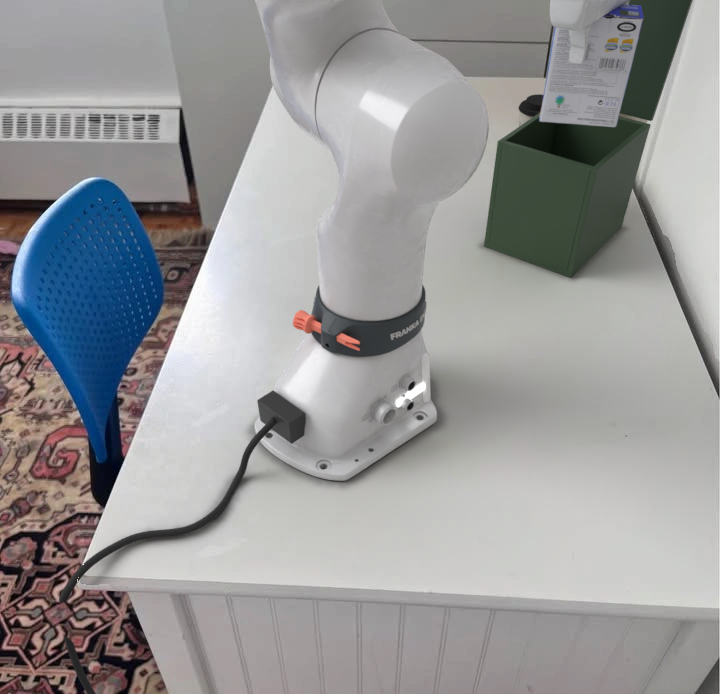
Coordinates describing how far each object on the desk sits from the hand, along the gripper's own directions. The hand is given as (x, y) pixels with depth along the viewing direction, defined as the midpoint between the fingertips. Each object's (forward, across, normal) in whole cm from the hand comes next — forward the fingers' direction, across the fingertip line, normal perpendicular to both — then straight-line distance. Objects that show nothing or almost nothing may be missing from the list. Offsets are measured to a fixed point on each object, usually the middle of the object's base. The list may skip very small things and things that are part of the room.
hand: (592, 52), depth 87 cm
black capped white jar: (+28, -28, -18) cm, 43 cm away
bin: (+28, -6, -2) cm, 28 cm away
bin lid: (+2, -15, -2) cm, 16 cm away
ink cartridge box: (+8, 0, 0) cm, 8 cm away
